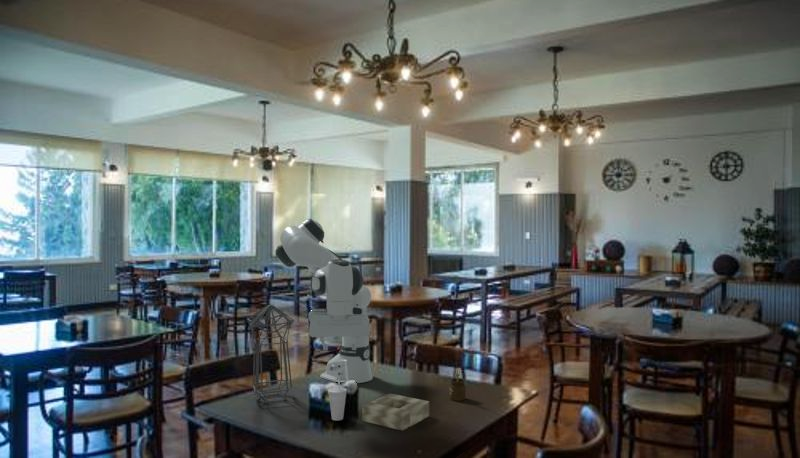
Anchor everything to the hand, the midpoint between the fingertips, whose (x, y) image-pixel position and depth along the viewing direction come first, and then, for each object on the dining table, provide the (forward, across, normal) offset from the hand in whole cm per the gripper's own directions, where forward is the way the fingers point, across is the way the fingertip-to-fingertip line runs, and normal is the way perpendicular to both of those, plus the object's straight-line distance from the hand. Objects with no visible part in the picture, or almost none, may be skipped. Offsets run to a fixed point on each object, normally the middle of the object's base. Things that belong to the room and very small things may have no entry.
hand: (339, 349), depth 187 cm
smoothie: (+23, -1, -1) cm, 23 cm away
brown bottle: (+23, +42, +17) cm, 51 cm away
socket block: (+22, +19, -2) cm, 29 cm away
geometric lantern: (+23, -27, +21) cm, 41 cm away
